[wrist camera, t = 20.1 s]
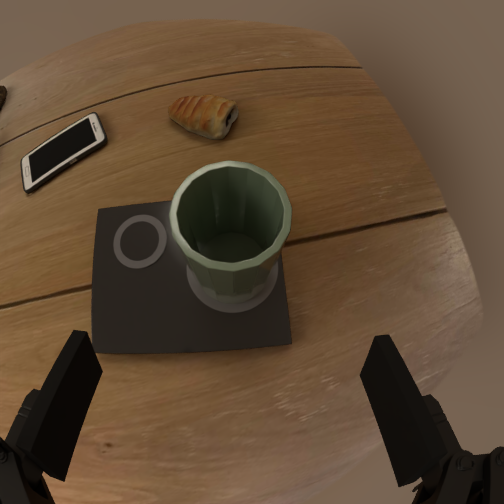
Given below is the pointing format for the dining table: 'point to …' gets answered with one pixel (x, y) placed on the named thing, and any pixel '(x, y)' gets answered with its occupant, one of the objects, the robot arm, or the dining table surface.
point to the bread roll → (2, 95)
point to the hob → (169, 293)
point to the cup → (231, 228)
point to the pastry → (204, 115)
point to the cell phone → (62, 151)
